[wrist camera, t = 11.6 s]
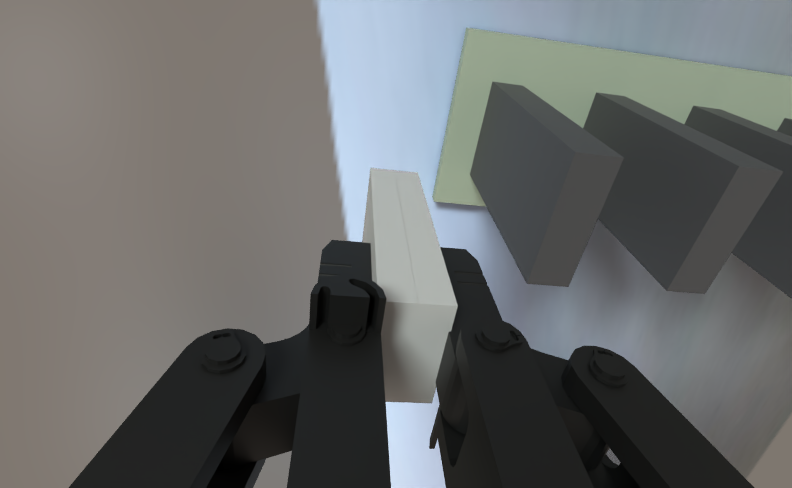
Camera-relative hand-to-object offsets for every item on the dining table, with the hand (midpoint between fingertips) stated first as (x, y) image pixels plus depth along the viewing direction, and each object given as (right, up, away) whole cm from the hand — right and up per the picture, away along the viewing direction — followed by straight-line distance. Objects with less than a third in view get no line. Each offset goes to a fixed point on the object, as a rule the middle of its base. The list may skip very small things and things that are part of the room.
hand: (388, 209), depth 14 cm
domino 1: (+5, +5, +9) cm, 11 cm away
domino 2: (+11, +4, +9) cm, 15 cm away
